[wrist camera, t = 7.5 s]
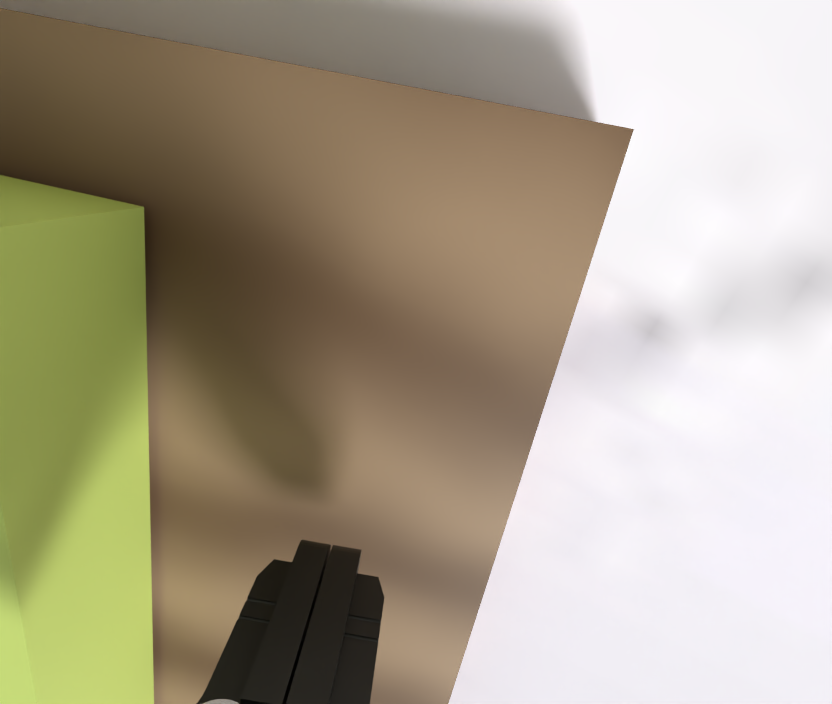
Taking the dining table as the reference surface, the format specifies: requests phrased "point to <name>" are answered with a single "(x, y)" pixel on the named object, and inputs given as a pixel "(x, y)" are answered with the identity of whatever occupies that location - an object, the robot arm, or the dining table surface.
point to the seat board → (321, 317)
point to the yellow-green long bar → (73, 450)
